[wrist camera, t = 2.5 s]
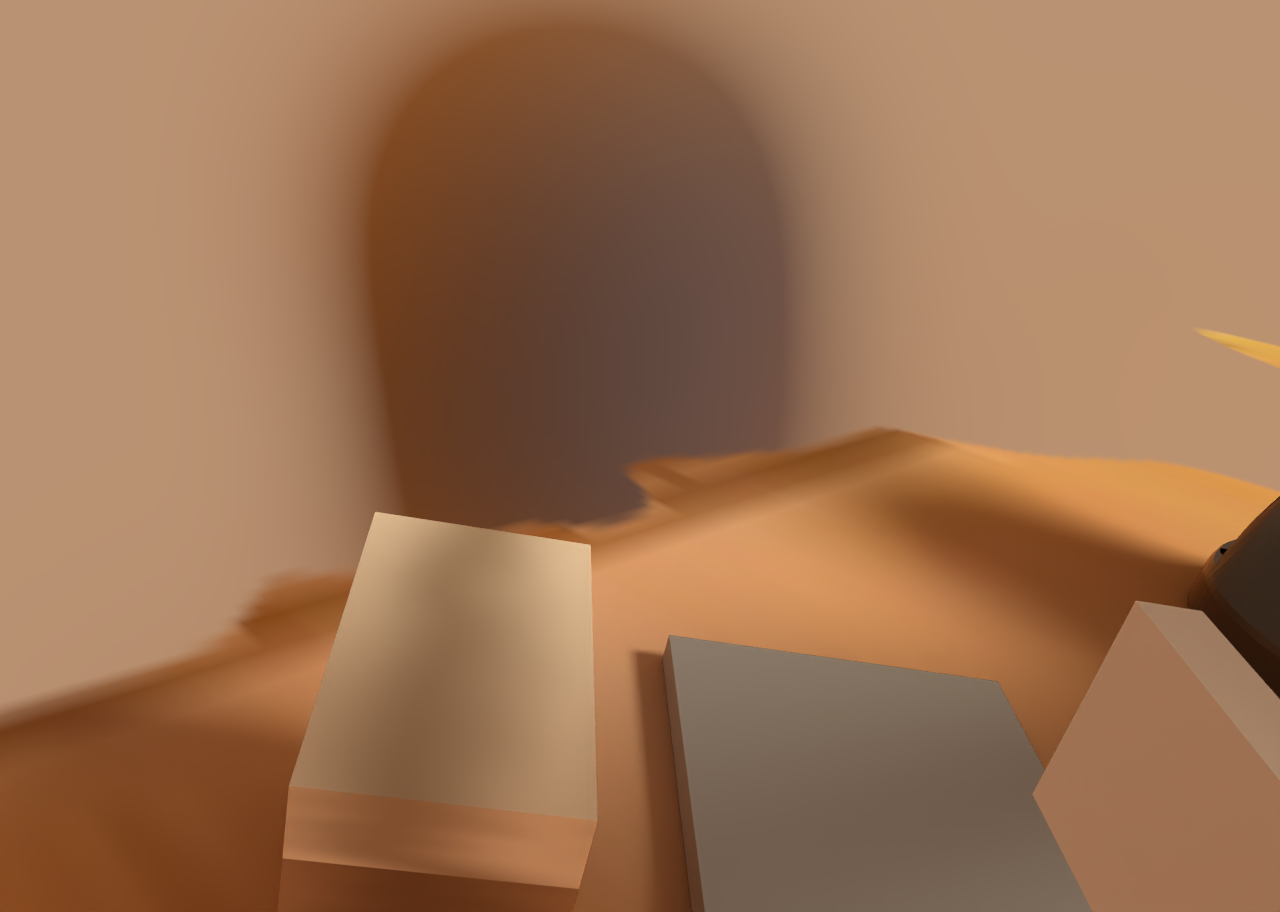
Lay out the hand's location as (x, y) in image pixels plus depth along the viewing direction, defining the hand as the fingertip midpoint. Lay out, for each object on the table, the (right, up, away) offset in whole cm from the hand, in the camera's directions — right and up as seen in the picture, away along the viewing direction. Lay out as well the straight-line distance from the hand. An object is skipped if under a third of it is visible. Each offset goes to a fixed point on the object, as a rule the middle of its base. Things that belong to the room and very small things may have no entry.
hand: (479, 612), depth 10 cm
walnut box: (-5, -12, +19) cm, 23 cm away
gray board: (+10, -12, +25) cm, 29 cm away
